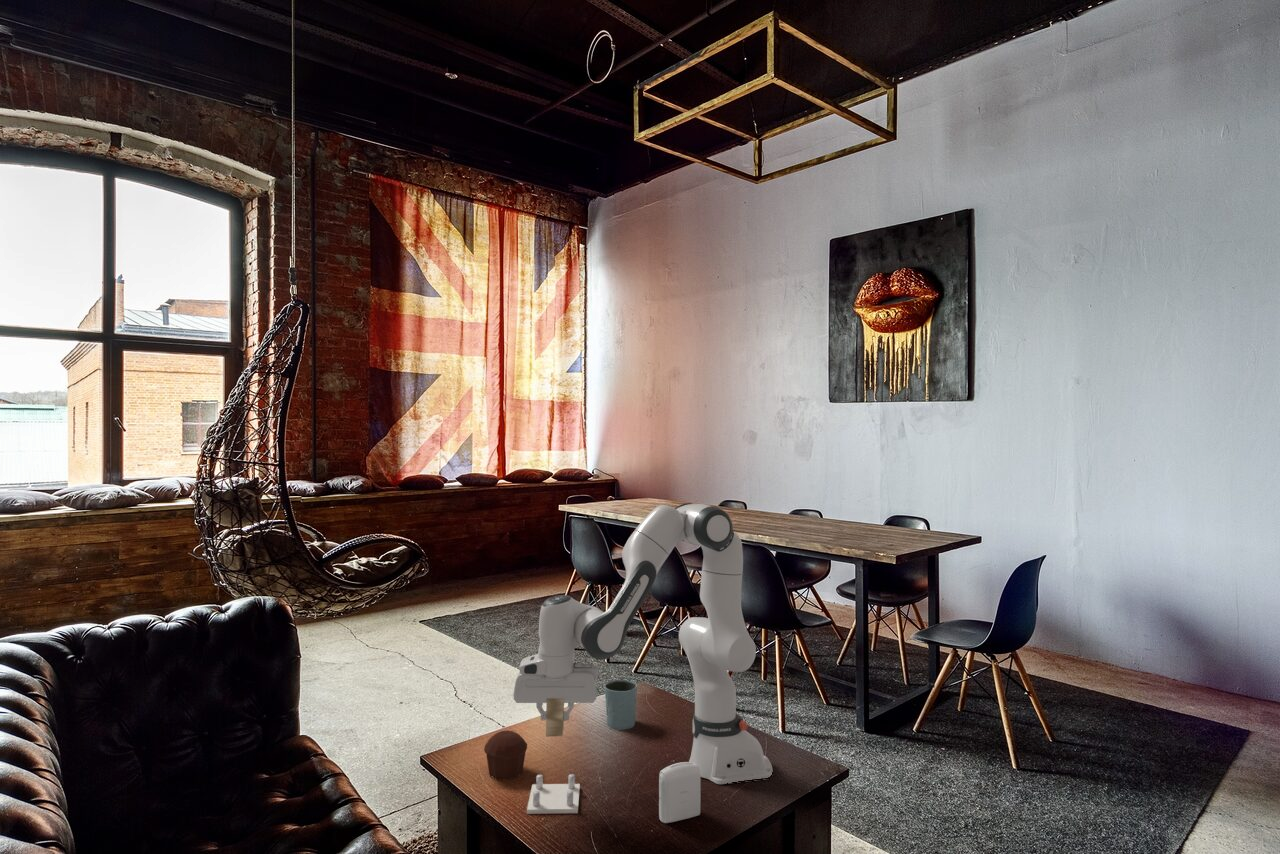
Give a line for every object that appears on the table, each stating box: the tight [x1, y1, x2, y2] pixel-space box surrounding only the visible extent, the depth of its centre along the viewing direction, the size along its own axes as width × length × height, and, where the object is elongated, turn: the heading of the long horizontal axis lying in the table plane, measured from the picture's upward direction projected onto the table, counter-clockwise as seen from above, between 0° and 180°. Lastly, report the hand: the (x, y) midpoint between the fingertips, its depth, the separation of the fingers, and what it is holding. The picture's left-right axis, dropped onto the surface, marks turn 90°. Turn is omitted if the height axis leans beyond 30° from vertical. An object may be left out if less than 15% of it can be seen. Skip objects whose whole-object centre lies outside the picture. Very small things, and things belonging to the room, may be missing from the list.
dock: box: [526, 773, 581, 815], centre depth 173 cm, size 12×12×4 cm
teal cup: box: [604, 679, 638, 731], centre depth 218 cm, size 10×10×12 cm
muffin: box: [483, 730, 528, 781], centre depth 187 cm, size 12×11×10 cm
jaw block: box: [545, 699, 565, 737], centre depth 173 cm, size 4×4×9 cm
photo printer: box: [658, 761, 702, 824], centre depth 166 cm, size 10×4×12 cm, turn 114°
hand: (555, 719), depth 173 cm, fingers closed on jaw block, 4 cm apart
